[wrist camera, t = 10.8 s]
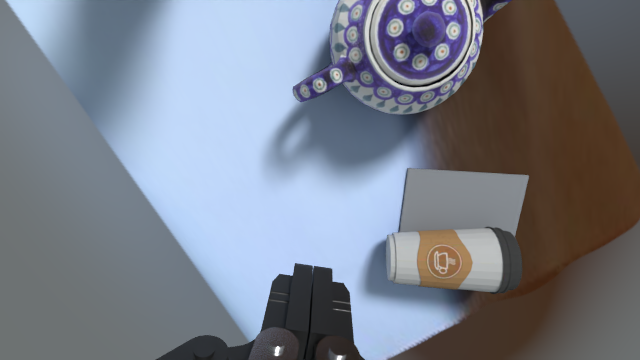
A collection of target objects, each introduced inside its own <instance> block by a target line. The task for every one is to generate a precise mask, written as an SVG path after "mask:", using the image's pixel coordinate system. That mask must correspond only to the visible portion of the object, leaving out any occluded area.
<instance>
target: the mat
mask: <svg viewBox="0 0 640 360" xmlns="http://www.w3.org/2000/svg"><path fill="white" fill-rule="evenodd" d="M528 178H529V176H528V175H515V174H498V173H481V172H464V171H448V170H431V169H414V168H408V170H407V177H406V184H405V192H404V199H403V207H402V214H401V221H400V229H399V232H416V231H427V230H446V229H453V230H458V229H478V228H485V227H488V226H489V227H492V228H495V227H497V228H500V229H502V230H503V231H508V232H511V233H512V234H513V235H514V237H515V234H516V229H517V225H518V221H519V217H520V212H521V208H522V204H523V199H524V195H525V191H526V186H527V182H528Z"/></svg>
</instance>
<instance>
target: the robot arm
mask: <svg viewBox="0 0 640 360" xmlns="http://www.w3.org/2000/svg"><path fill="white" fill-rule="evenodd" d="M312 271H313V273H312ZM156 360H365V359H364V358H362V357H361V355H360V354H359V351H358V349H357V347H356V346H355V345H354V338H353V327H352V315H351V304H350V293H349V291H348V290H347V288H346V286H345V285H344V283H338V282H332V269H331V268H325V267H318V266H314V268H313V266H311V265H304V264H297V263H295V266H294V273H293V276H290V275H283V274H279V275H278V276H277V277H276V278H275V279H274V281H273V282H272V286H271V290H270V295H269V299H268V303H267V307H266V312H265V316H264V320H263V324H262V329H261V332H260V333H259V334H258V336H257V337H256V338H255V339H254V340H253V341H251V342H250V343H248V344H245V345H241V346H236V347H227V345H226V343H225V342H224V341H223V340H221V339H220V338H218V337H215V336H209V335H204V336H198V337H195V338H193V339H191V340H189V341H187V342H186V343H184V344H182V345H181V346H179V347H177V348H175V349H174V350H172V351H170V352H168V353H167V354H165V355H163V356H161V357H160V358H158V359H156Z"/></svg>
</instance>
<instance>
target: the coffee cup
mask: <svg viewBox="0 0 640 360" xmlns="http://www.w3.org/2000/svg"><path fill="white" fill-rule="evenodd" d="M386 270H387V277H388V280H389V281H393V283H397V284H408V285H418V286H423V287H433V288H444V289H455V290H457V289H464V290H475V291H486V292H490V293H492V294H496V293H505V292H507V291H508V290H513V289H515V288H517V286H518V285H519V282H520V280H521V274H522V258H521V252H520V248H519V245H518V243H517V240H516V239H515V237H514V235H513V234H512V233H511V232H508V231H503V230H502V229H500V228H497V227H495V228H492V227H489V226H488V227H485V228H478V229H458V230H453V229H446V230H427V231H416V232H398V233H392V235H387V240H386Z"/></svg>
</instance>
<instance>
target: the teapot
mask: <svg viewBox="0 0 640 360" xmlns="http://www.w3.org/2000/svg"><path fill="white" fill-rule="evenodd" d="M510 1H511V0H339V1H338V3H337V6H336V8H335V11H334V14H333V17H332V21H331V24H330V35H329V44H330V55H331V60H332V62H331V63H330V64H329V66H327V67H326V68H324V69H323V70H321V71H319V72H317V73H316V74H314V75H312V76H310V77H308V78H306V79H305V80H303V81H302V82H300V83H299V84H297V85H296V86H294V87H293V94H294V96H295V98H296V99H297V100H298V101H300V102H304V101H307V100H309V99H312V98H315V97H317V96H319V95H322V94H324V93H326V92H328V91H329V90H331V89H333V88H335V87H336V86H338V85H340V84H343V85H344V86H345V87H346V88H347V90H348V91H349V92H350V93H351V95H353V96H354V97H355V98H357V99H358V100H359V101H360V102H362V103H363V104H365V105H367V106H369V107H371V108H373V109H375V110H378V111H381V112H384V113H387V114H400V115H402V114H413V113H418V112H421V111H425V110H428V109H430V108H432V107H434V106H436V105H438V104H440V103H441V102H443V101H444V100H446V99H447V98H448V97H450V96H451V95H452V94H454V93H455V92H456V91H457V89H458V88H459V87H460V86H461V85H462V84H463V83H464V81H465V80H466V78H467V77H468V75H469V74H470V73H471V71H472V70H473V68H474V67H475V64H476V61H477V58H478V56H479V52H480V47H481V43H482V36H483V23H484V22H485V21H486V20H488V19H489V18H490V17H491V16H492V15H493V14H494V13H495V12H497V11H498V10H499V9H500V8H502V7H503V6H504V5H506V4H507V3H508V2H510ZM377 3H378V4H377ZM376 4H377V6H376ZM375 6H376V8H375ZM374 8H375V10H374ZM373 11H374V13H373ZM372 13H373V16H372ZM371 17H372V19H371ZM370 22H371V24H370ZM369 27H370V32H369ZM369 36H370V43H369ZM370 46H371V49H370ZM371 50H372V53H371ZM372 54H373V55H372ZM373 56H374V57H373ZM374 58H375V60H376V61H375V60H374ZM376 62H377V63H376ZM377 64H378V65H379V66H378V65H377ZM379 67H380V68H381V69H382V71H383V72H384V73H385V74H386V75H387V76H389V77H390V78H391V79H393V80H395V81H397V82H400V83H403V84H404V85H399V84H397V83H396V82H394V81H392V80H391V79H390V78H388V77H387V76H386V75H385V74H384V73H383V72H382V71H381V70H380V68H379Z"/></svg>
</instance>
